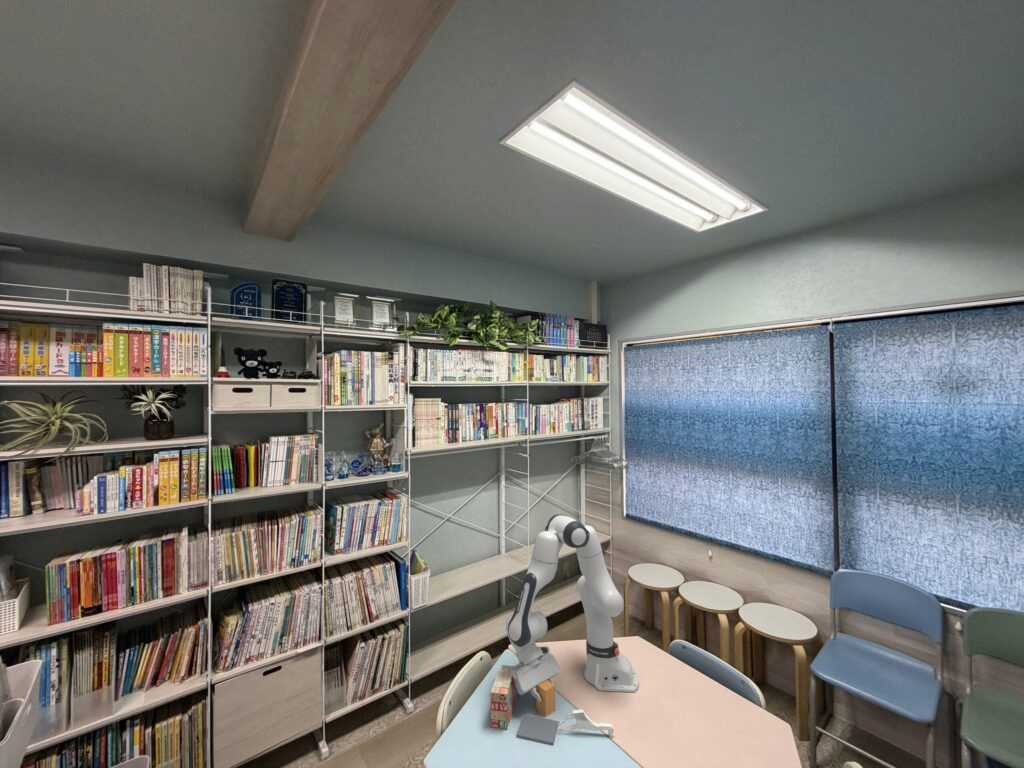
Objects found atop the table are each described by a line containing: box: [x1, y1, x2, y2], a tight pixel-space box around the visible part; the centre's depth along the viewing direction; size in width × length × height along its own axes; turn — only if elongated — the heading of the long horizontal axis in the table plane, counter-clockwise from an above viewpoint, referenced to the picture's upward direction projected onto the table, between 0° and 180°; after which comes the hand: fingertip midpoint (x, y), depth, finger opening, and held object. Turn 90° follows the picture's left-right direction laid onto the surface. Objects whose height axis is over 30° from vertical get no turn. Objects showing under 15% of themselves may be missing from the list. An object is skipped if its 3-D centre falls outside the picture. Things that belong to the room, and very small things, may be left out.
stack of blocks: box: [490, 664, 518, 731], centre depth 151 cm, size 21×6×12 cm, turn 170°
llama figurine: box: [556, 708, 615, 738], centre depth 138 cm, size 2×11×18 cm
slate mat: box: [515, 713, 559, 746], centre depth 139 cm, size 13×10×1 cm
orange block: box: [536, 680, 556, 718], centre depth 149 cm, size 5×5×9 cm
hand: (547, 697), depth 149 cm, fingers open, 5 cm apart
